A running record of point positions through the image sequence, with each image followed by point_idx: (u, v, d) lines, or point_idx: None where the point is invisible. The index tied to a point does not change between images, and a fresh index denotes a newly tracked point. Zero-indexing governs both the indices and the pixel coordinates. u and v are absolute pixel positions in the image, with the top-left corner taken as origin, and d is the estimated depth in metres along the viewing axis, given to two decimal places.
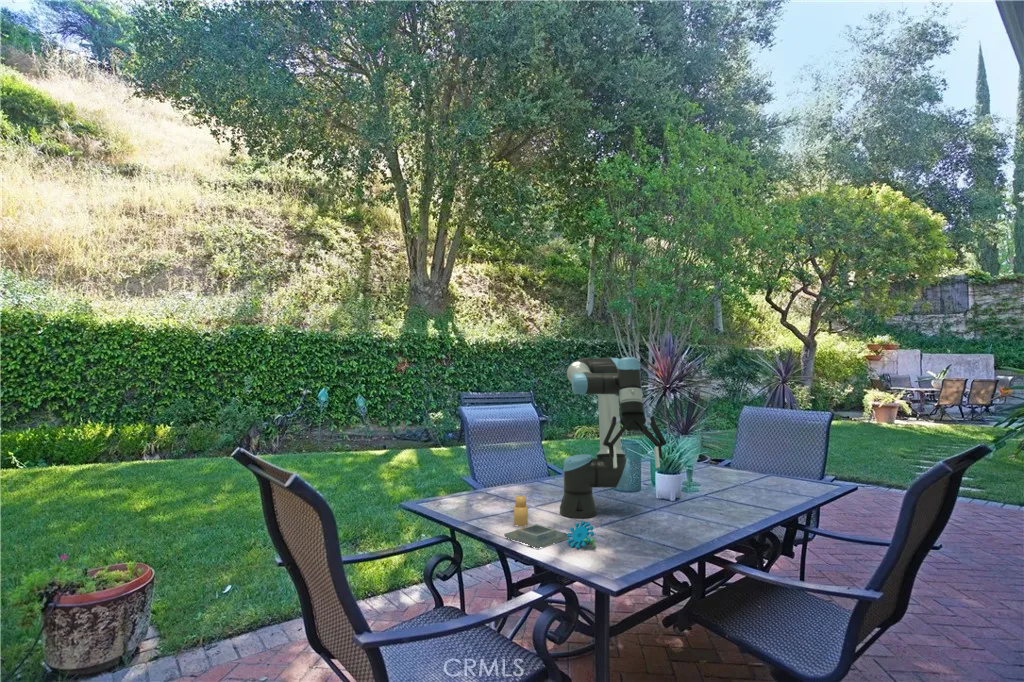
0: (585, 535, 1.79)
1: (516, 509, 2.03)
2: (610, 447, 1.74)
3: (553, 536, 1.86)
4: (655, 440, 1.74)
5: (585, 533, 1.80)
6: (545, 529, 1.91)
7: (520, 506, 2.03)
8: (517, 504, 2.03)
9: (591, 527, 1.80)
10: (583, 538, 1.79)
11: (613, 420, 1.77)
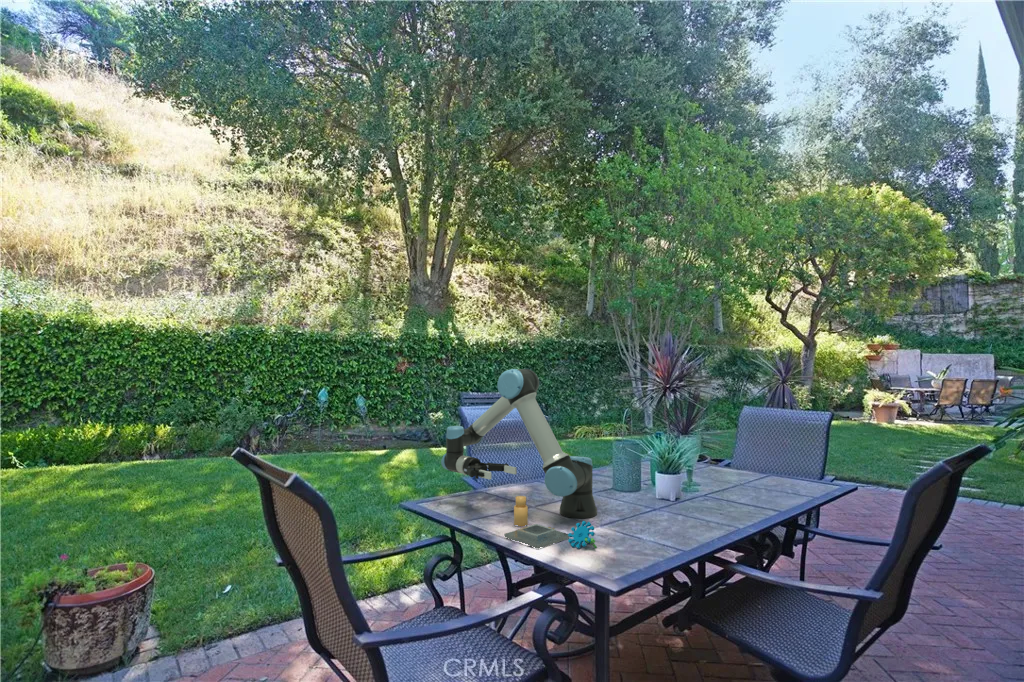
0: (586, 535, 1.79)
1: (516, 509, 2.03)
2: None
3: (553, 536, 1.86)
4: None
5: (586, 533, 1.80)
6: (545, 529, 1.91)
7: (520, 506, 2.03)
8: (517, 504, 2.03)
9: (592, 527, 1.80)
10: (584, 538, 1.79)
11: None
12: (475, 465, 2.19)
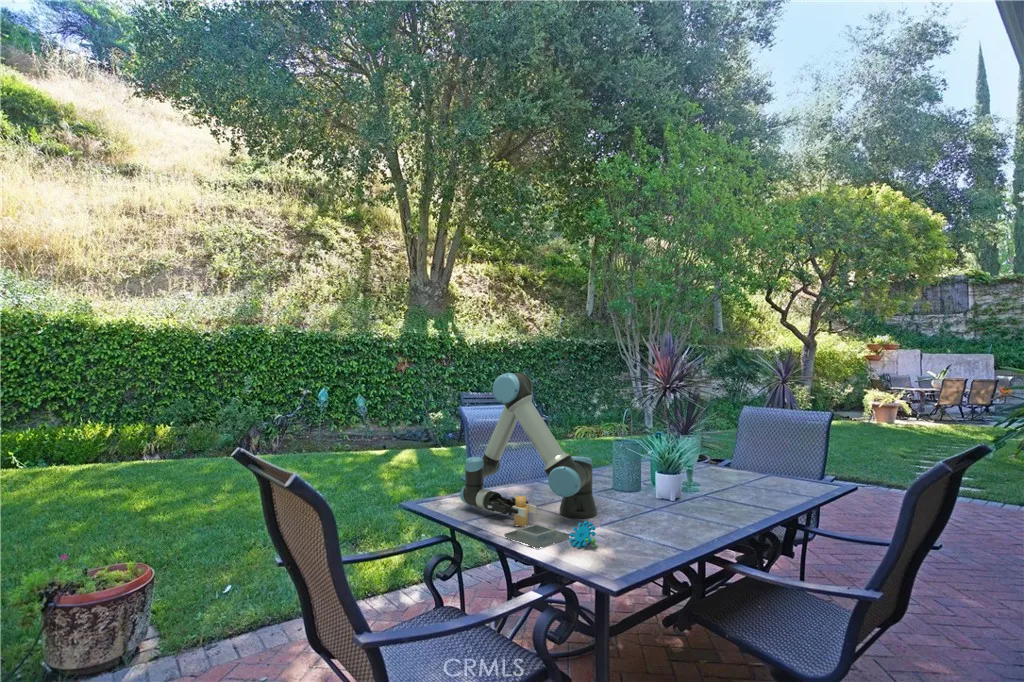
0: (587, 535, 1.79)
1: None
2: None
3: (553, 536, 1.86)
4: None
5: (587, 533, 1.80)
6: (545, 529, 1.91)
7: (520, 506, 2.03)
8: (517, 504, 2.03)
9: (593, 527, 1.80)
10: (584, 538, 1.79)
11: None
12: (499, 501, 2.10)
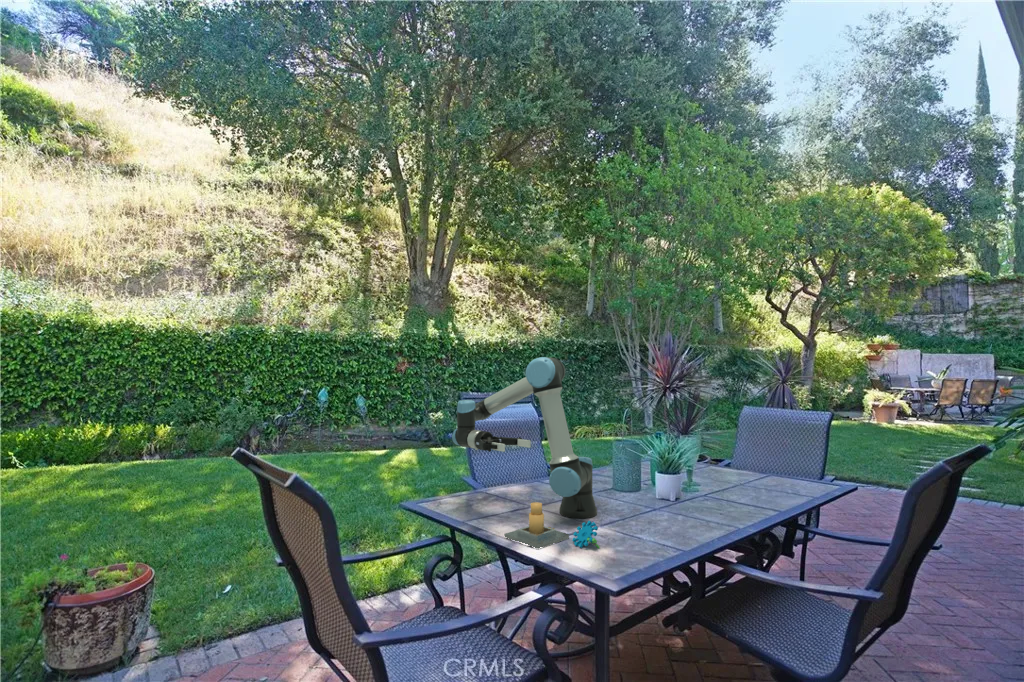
0: (588, 535, 1.79)
1: (531, 517, 1.87)
2: None
3: (553, 536, 1.86)
4: None
5: (589, 533, 1.80)
6: (545, 529, 1.91)
7: (536, 513, 1.87)
8: (532, 511, 1.88)
9: (595, 527, 1.80)
10: (586, 538, 1.79)
11: None
12: (487, 438, 2.11)
